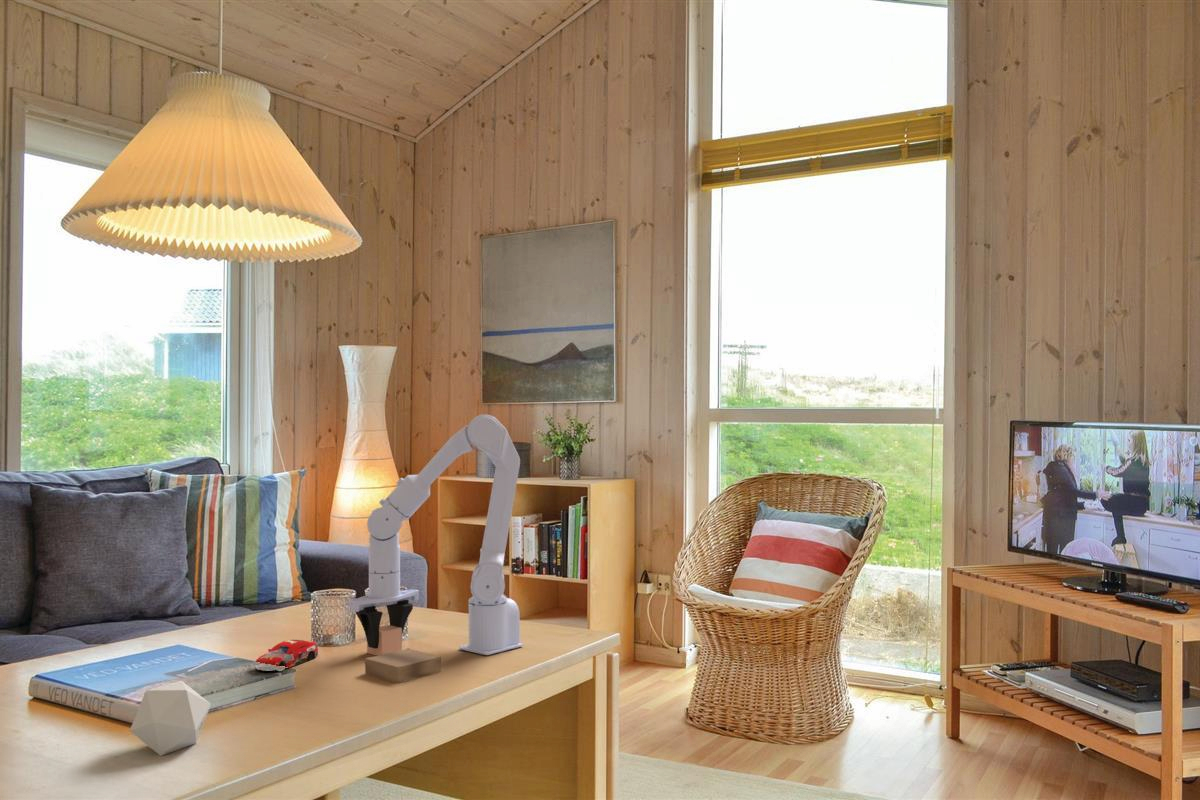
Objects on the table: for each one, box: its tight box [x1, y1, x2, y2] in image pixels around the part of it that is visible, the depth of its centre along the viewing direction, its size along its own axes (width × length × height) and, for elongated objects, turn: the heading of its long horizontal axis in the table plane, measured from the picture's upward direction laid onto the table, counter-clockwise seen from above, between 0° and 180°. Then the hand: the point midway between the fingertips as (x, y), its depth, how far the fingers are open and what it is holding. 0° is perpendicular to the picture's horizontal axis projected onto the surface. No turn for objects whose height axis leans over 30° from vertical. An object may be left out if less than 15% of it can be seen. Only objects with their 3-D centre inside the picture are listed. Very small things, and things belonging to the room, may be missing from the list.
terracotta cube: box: [366, 624, 403, 656], centre depth 174 cm, size 4×4×4 cm
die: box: [129, 680, 212, 756], centre depth 124 cm, size 8×9×10 cm
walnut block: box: [364, 648, 442, 684], centre depth 160 cm, size 9×9×3 cm
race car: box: [255, 639, 319, 668], centre depth 166 cm, size 13×5×4 cm, turn 158°
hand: (384, 644), depth 174 cm, fingers closed on terracotta cube, 4 cm apart
